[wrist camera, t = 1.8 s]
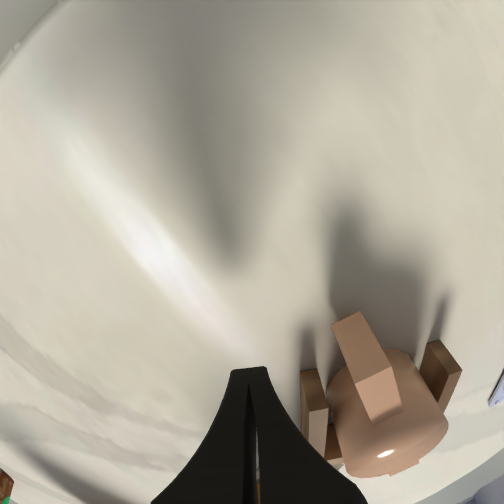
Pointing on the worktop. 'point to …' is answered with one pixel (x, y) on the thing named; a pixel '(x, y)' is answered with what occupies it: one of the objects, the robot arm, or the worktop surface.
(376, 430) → the cylinder with bar handle
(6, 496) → the food container
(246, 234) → the worktop surface
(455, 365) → the cradle
